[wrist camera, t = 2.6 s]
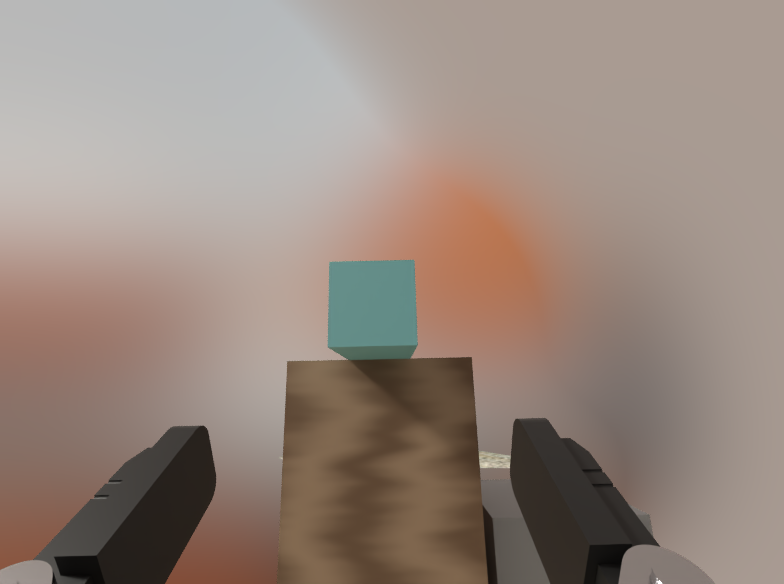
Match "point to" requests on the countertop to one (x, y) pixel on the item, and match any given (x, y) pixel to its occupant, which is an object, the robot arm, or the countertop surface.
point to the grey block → (514, 537)
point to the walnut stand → (381, 474)
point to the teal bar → (372, 309)
